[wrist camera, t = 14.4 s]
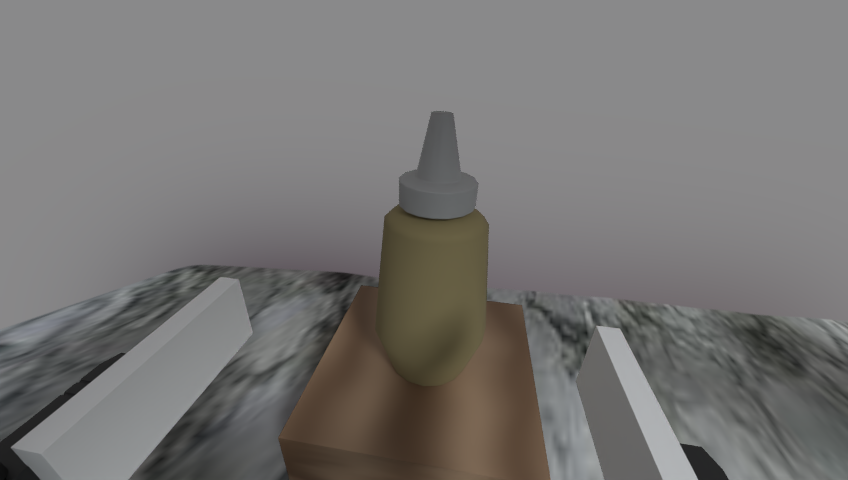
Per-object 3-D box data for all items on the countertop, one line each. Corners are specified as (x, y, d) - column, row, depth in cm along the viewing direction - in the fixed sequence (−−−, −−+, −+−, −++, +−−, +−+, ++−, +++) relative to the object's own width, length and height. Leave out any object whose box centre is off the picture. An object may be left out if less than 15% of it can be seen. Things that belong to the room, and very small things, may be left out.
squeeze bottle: (353, 370, 25) (331, 112, 17) (410, 310, 31) (415, 100, 23) (453, 423, 22) (488, 133, 13) (494, 343, 28) (536, 112, 20)
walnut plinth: (513, 343, 35) (521, 305, 33) (534, 531, 21) (552, 487, 19) (363, 323, 37) (361, 285, 34) (290, 482, 23) (278, 437, 20)
